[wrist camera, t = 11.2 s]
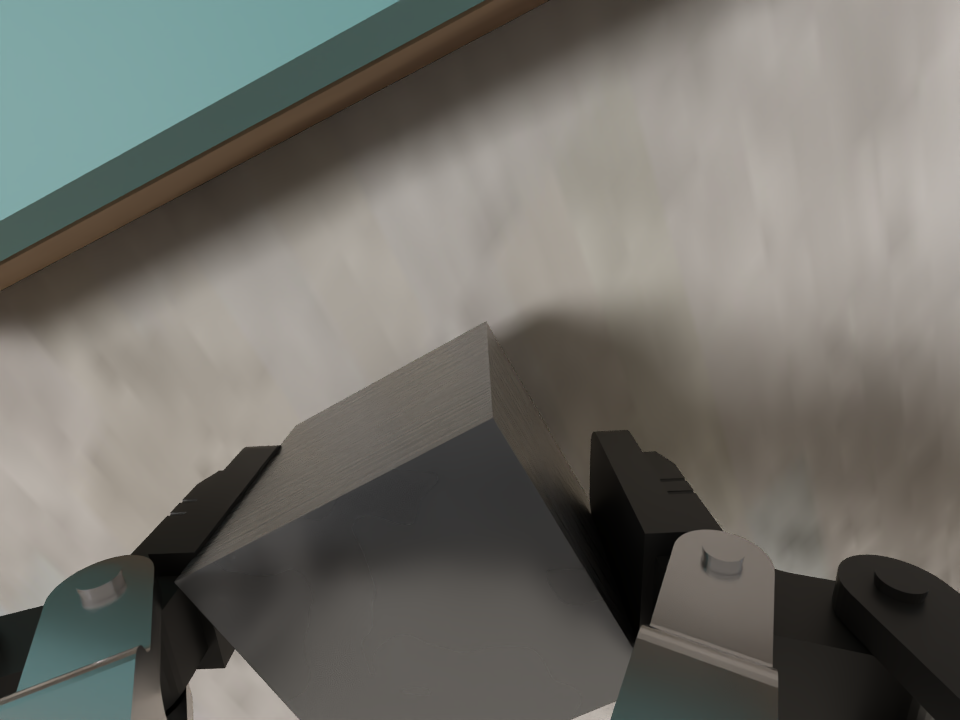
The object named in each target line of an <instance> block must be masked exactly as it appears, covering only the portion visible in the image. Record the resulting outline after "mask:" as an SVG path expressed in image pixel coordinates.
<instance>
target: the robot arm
mask: <svg viewBox="0 0 960 720" xmlns="http://www.w3.org/2000/svg"><path fill="white" fill-rule="evenodd" d="M280 447H281V445H279V446H257V447H245V448H244V449H242V451H241V452H240V453H239V454H238V455H237V456H236V457H235V458H234V459H233V461H232V462H231V463H230V464H229V465H228V466H227V467H226V468H225V469H224V470H223V471H218V472H217V473H215V474H213V475H212V476H210V477H208V478H207V479H205V480H204V481H202V482H200V483H199V484H197V485H196V486H195V487H194V488H193V489H192V490H191V492H190V493H189V494H188V495H187V496H186V497H185V498H184V499H183V503H179V504H178V505H177V506H176V507H175V508H174V509H173V510H172V512H171V515H170V516H167V517H166V518H165V519H164V520H163V521H162V522H161V523H160V524H159V525H158V526H157V527H156V528H155V529H154V531H153V532H152V533H151V534H150V535H149V536H148V537H147V538H146V539H145V540H144V541H143V542H142V543H141V544H140V545H139V546H138V547H137V548H136V550H135V551H134V552H133V553H132V554H131V555H124V556H118V557H114V558H110V559H106V560H103V561H100V562H97V563H95V564H93V565H90V566H88V567H86V568H84V569H82V570H80V571H78V572H77V573H75V574H73V575H72V576H70V577H69V578H67V579H66V580H64V581H63V582H62V583H61V584H59V585H58V586H57V587H56V588H55V589H54V590H53V591H52V592H51V593H50V595H49V596H48V598H47V599H46V601H45V604H44V606H40V607H36V608H32V609H28V610H24V611H20V612H16V613H12V614H8V615H4V616H0V720H193V699H192V693H191V690H190V687H189V681H190V679H191V678H192V676H193V674H194V673H195V671H196V669H214V668H225V667H226V665H227V663H228V661H229V659H230V657H231V655H232V654H233V652H234V650H235V648H234V647H233V646H232V645H231V644H230V643H229V642H228V641H227V640H226V638H225V637H224V636H223V635H222V634H221V633H220V632H219V631H218V630H217V629H216V627H215V626H214V625H213V624H212V623H211V622H210V621H209V620H208V619H207V618H206V616H205V615H204V614H203V613H202V612H201V611H200V610H199V609H198V608H197V607H196V606H195V604H194V603H193V602H192V601H191V600H190V599H189V598H188V597H187V596H186V595H185V593H184V592H183V591H182V590H181V589H180V588H179V587H178V586H177V585H176V584H175V583H174V582H175V580H176V579H177V578H178V577H179V575H180V574H181V573H182V571H183V570H184V569H185V568H186V566H187V565H188V564H189V562H190V561H191V560H192V559H193V558H195V557H196V556H197V555H198V554H199V552H200V551H201V550H202V548H203V547H204V546H205V545H206V543H207V542H208V541H209V539H210V538H211V537H212V535H213V534H214V533H215V532H216V530H217V529H218V528H219V526H220V525H221V524H222V522H223V521H224V520H225V519H226V517H227V516H228V515H229V513H230V512H231V511H232V509H233V508H234V507H235V506H236V504H237V503H238V502H239V500H240V499H241V498H242V496H243V495H244V494H245V493H246V491H247V490H248V489H249V487H250V486H251V485H252V483H253V482H254V481H255V480H256V478H257V477H258V476H259V474H260V473H261V472H262V470H263V469H264V468H265V467H266V465H267V464H268V463H269V461H270V460H271V459H272V457H273V456H274V455H275V454H276V452H277V451H278V450H279V448H280ZM590 509H591V515H592V517H593V520H594V523H595V526H596V529H597V532H598V534H599V537H600V540H601V543H602V546H603V548H604V551H605V554H606V557H607V560H608V563H609V565H610V568H611V571H612V574H613V577H614V580H615V582H616V585H617V588H618V591H619V594H620V596H621V599H622V602H623V605H624V608H625V611H626V613H627V616H628V619H629V622H630V625H631V627H632V630H633V633H634V636H635V639H636V641H635V645H634V648H633V651H632V654H631V657H630V660H629V663H628V666H627V670H626V673H625V676H624V679H623V682H622V685H621V688H620V691H619V695H618V698H617V701H616V704H615V707H614V710H613V713H612V717H611V720H960V594H959V593H958V592H957V591H956V590H954V589H953V588H952V587H950V586H949V585H948V584H946V583H945V582H943V581H942V580H941V579H939V578H938V577H936V576H934V575H933V574H931V573H929V572H927V571H925V570H923V569H921V568H919V567H917V566H914V565H912V564H909V563H906V562H903V561H900V560H897V559H893V558H889V557H884V556H878V555H857V556H852V557H849V558H846V559H845V560H843V561H842V562H841V563H840V565H839V567H838V571H837V576H836V581H832V580H827V579H821V578H815V577H810V576H804V575H798V574H793V573H788V572H783V571H780V570H777V569H774V565H773V563H772V561H771V559H770V558H769V556H768V555H767V554H766V553H765V552H764V551H763V550H762V549H761V548H759V547H758V546H757V545H755V544H754V543H752V542H750V541H748V540H746V539H744V538H742V537H740V536H737V535H735V534H731V533H728V532H724V531H723V530H722V529H721V528H720V526H719V525H718V523H717V522H716V521H715V519H714V518H713V517H712V515H711V514H710V512H709V511H708V510H707V508H706V507H705V506H704V504H703V503H702V501H701V500H700V499H699V497H698V496H697V494H696V493H694V492H693V489H692V488H691V486H690V485H689V483H688V482H687V481H685V478H684V476H683V475H682V474H681V472H680V471H679V470H678V468H677V467H676V465H675V464H674V463H673V462H671V461H669V460H668V459H666V458H665V457H663V456H662V455H660V454H658V453H657V452H642V451H641V449H640V448H639V446H638V444H637V443H636V441H635V440H634V438H633V436H632V435H631V433H630V432H629V431H628V430H619V431H597V432H593V433H592V436H591V455H590Z"/></svg>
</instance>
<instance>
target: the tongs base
mask: <svg viewBox="0 0 960 720" xmlns="http://www.w3.org/2000/svg"><path fill="white" fill-rule="evenodd" d="M547 1H549V0H484V1H483V2H481V3H479V4H477V5H475V6H473V7H471V8H470V9H468V10H466V11H464V12H462V13H460V14H458V15H457V16H455V17H453V18H451V19H449V20H447V21H446V22H444V23H442V24H440V25H438V26H436V27H434V28H433V29H431V30H429V31H427V32H425V33H423V34H421V35H420V36H418V37H416V38H414V39H412V40H410V41H408V42H407V43H405V44H403V45H401V46H399V47H397V48H395V49H394V50H392V51H390V52H388V53H386V54H384V55H382V56H381V57H379V58H377V59H375V60H373V61H371V62H369V63H368V64H366V65H364V66H362V67H360V68H358V69H356V70H355V71H353V72H351V73H349V74H347V75H345V76H343V77H342V78H340V79H338V80H336V81H334V82H332V83H330V84H329V85H327V86H325V87H323V88H321V89H319V90H318V91H316V92H314V93H312V94H310V95H308V96H306V97H305V98H303V99H301V100H299V101H297V102H295V103H293V104H292V105H290V106H288V107H286V108H284V109H282V110H280V111H279V112H277V113H275V114H273V115H271V116H269V117H267V118H266V119H264V120H262V121H260V122H258V123H256V124H254V125H253V126H251V127H249V128H247V129H245V130H243V131H241V132H240V133H238V134H236V135H234V136H232V137H230V138H228V139H227V140H225V141H223V142H221V143H219V144H217V145H215V146H214V147H212V148H210V149H208V150H206V151H204V152H202V153H201V154H199V155H197V156H195V157H193V158H191V159H190V160H188V161H186V162H184V163H182V164H180V165H178V166H177V167H175V168H173V169H171V170H169V171H167V172H165V173H164V174H162V175H160V176H158V177H156V178H154V179H152V180H151V181H149V182H147V183H145V184H143V185H141V186H139V187H138V188H136V189H134V190H132V191H130V192H128V193H126V194H125V195H123V196H121V197H119V198H117V199H115V200H113V201H112V202H110V203H108V204H106V205H104V206H102V207H100V208H99V209H97V210H95V211H93V212H91V213H89V214H87V215H86V216H84V217H82V218H80V219H78V220H76V221H74V222H73V223H71V224H69V225H67V226H65V227H63V228H62V229H60V230H58V231H56V232H54V233H52V234H50V235H49V236H47V237H45V238H43V239H41V240H39V241H37V242H36V243H34V244H32V245H30V246H28V247H26V248H24V249H23V250H21V251H19V252H17V253H15V254H13V255H11V256H10V257H8V258H6V259H4V260H2V261H0V291H1V290H3V289H5V288H7V287H9V286H10V285H12V284H14V283H16V282H18V281H20V280H22V279H24V278H26V277H27V276H29V275H31V274H33V273H35V272H37V271H39V270H41V269H43V268H44V267H46V266H48V265H50V264H52V263H54V262H56V261H58V260H60V259H61V258H63V257H65V256H67V255H69V254H71V253H73V252H75V251H77V250H78V249H80V248H82V247H84V246H86V245H88V244H90V243H92V242H94V241H95V240H97V239H99V238H101V237H103V236H105V235H107V234H109V233H111V232H113V231H114V230H116V229H118V228H120V227H122V226H124V225H126V224H128V223H130V222H131V221H133V220H135V219H137V218H139V217H141V216H143V215H145V214H147V213H148V212H150V211H152V210H154V209H156V208H158V207H160V206H162V205H164V204H165V203H167V202H169V201H171V200H173V199H175V198H177V197H179V196H181V195H182V194H184V193H186V192H188V191H190V190H192V189H194V188H196V187H198V186H199V185H201V184H203V183H205V182H207V181H209V180H211V179H213V178H215V177H216V176H218V175H220V174H222V173H224V172H226V171H228V170H230V169H232V168H233V167H235V166H237V165H239V164H241V163H243V162H245V161H247V160H249V159H250V158H252V157H254V156H256V155H258V154H260V153H262V152H264V151H266V150H268V149H269V148H271V147H273V146H275V145H277V144H279V143H281V142H283V141H285V140H286V139H288V138H290V137H292V136H294V135H296V134H298V133H300V132H302V131H303V130H305V129H307V128H309V127H311V126H313V125H315V124H317V123H319V122H320V121H322V120H324V119H326V118H328V117H330V116H332V115H334V114H336V113H337V112H339V111H341V110H343V109H345V108H347V107H349V106H351V105H353V104H354V103H356V102H358V101H360V100H362V99H364V98H366V97H368V96H370V95H371V94H373V93H375V92H377V91H379V90H381V89H383V88H385V87H387V86H388V85H390V84H392V83H394V82H396V81H398V80H400V79H402V78H404V77H406V76H407V75H409V74H411V73H413V72H415V71H417V70H419V69H421V68H423V67H424V66H426V65H428V64H430V63H432V62H434V61H436V60H438V59H440V58H441V57H443V56H445V55H447V54H449V53H451V52H453V51H455V50H457V49H458V48H460V47H462V46H464V45H466V44H468V43H470V42H472V41H474V40H475V39H477V38H479V37H481V36H483V35H485V34H487V33H489V32H491V31H492V30H494V29H496V28H498V27H500V26H502V25H504V24H506V23H508V22H509V21H511V20H513V19H515V18H517V17H519V16H521V15H523V14H525V13H526V12H528V11H530V10H532V9H534V8H536V7H538V6H540V5H542V4H543V3H545V2H547Z"/></svg>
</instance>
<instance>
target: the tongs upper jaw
mask: <svg viewBox="0 0 960 720" xmlns="http://www.w3.org/2000/svg"><path fill="white" fill-rule="evenodd" d="M483 1H484V0H0V261H2V260H4V259H6V258H8V257H10V256H11V255H13V254H15V253H17V252H19V251H21V250H23V249H24V248H26V247H28V246H30V245H32V244H34V243H36V242H37V241H39V240H41V239H43V238H45V237H47V236H49V235H50V234H52V233H54V232H56V231H58V230H60V229H62V228H63V227H65V226H67V225H69V224H71V223H73V222H74V221H76V220H78V219H80V218H82V217H84V216H86V215H87V214H89V213H91V212H93V211H95V210H97V209H99V208H100V207H102V206H104V205H106V204H108V203H110V202H112V201H113V200H115V199H117V198H119V197H121V196H123V195H125V194H126V193H128V192H130V191H132V190H134V189H136V188H138V187H139V186H141V185H143V184H145V183H147V182H149V181H151V180H152V179H154V178H156V177H158V176H160V175H162V174H164V173H165V172H167V171H169V170H171V169H173V168H175V167H177V166H178V165H180V164H182V163H184V162H186V161H188V160H190V159H191V158H193V157H195V156H197V155H199V154H201V153H202V152H204V151H206V150H208V149H210V148H212V147H214V146H215V145H217V144H219V143H221V142H223V141H225V140H227V139H228V138H230V137H232V136H234V135H236V134H238V133H240V132H241V131H243V130H245V129H247V128H249V127H251V126H253V125H254V124H256V123H258V122H260V121H262V120H264V119H266V118H267V117H269V116H271V115H273V114H275V113H277V112H279V111H280V110H282V109H284V108H286V107H288V106H290V105H292V104H293V103H295V102H297V101H299V100H301V99H303V98H305V97H306V96H308V95H310V94H312V93H314V92H316V91H318V90H319V89H321V88H323V87H325V86H327V85H329V84H330V83H332V82H334V81H336V80H338V79H340V78H342V77H343V76H345V75H347V74H349V73H351V72H353V71H355V70H356V69H358V68H360V67H362V66H364V65H366V64H368V63H369V62H371V61H373V60H375V59H377V58H379V57H381V56H382V55H384V54H386V53H388V52H390V51H392V50H394V49H395V48H397V47H399V46H401V45H403V44H405V43H407V42H408V41H410V40H412V39H414V38H416V37H418V36H420V35H421V34H423V33H425V32H427V31H429V30H431V29H433V28H434V27H436V26H438V25H440V24H442V23H444V22H446V21H447V20H449V19H451V18H453V17H455V16H457V15H458V14H460V13H462V12H464V11H466V10H468V9H470V8H471V7H473V6H475V5H477V4H479V3H481V2H483Z"/></svg>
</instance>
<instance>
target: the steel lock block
mask: <svg viewBox="0 0 960 720" xmlns="http://www.w3.org/2000/svg"><path fill="white" fill-rule="evenodd" d="M174 583H175V584H176V585H177V586H178V587H179V588H180V589H181V590H182V591H183V592H184V593H185V595H186V596H187V597H188V598H189V599H190V600H191V601H192V602H193V603H194V604H195V606H196V607H197V608H198V609H199V610H200V611H201V612H202V613H203V614H204V615H205V616H206V618H207V619H208V620H209V621H210V622H211V623H212V624H213V625H214V626H215V627H216V629H217V630H218V631H219V632H220V633H221V634H222V635H223V636H224V637H225V638H226V640H227V641H228V642H229V643H230V644H231V645H232V646H233V647H234V648H235V649H236V650H237V652H238V653H239V654H240V655H241V656H242V657H243V658H244V659H245V660H246V661H247V663H248V664H249V665H250V666H251V667H252V668H253V669H254V670H255V671H256V672H257V673H258V675H259V676H260V677H261V678H262V679H263V680H264V681H265V682H266V683H267V684H268V686H269V687H270V688H271V689H272V690H273V691H274V692H275V693H276V694H277V695H278V697H279V698H280V699H281V700H282V701H283V702H284V703H285V704H286V705H287V706H288V707H289V709H290V710H291V711H292V712H293V713H294V714H295V715H296V716H297V717H298V718H299V720H571V719H573V718H576V717H578V716H581V715H583V714H586V713H588V712H591V711H593V710H595V709H598V708H600V707H603V706H605V705H608V704H610V703H613V702H615V701H617V698H618V695H619V691H620V688H621V685H622V682H623V679H624V676H625V673H626V670H627V666H628V663H629V660H630V657H631V654H632V651H633V648H634V645H635V641H636V639H635V636H634V633H633V630H632V627H631V625H630V622H629V619H628V616H627V613H626V611H625V608H624V605H623V602H622V599H621V596H620V594H619V591H618V588H617V585H616V582H615V580H614V577H613V574H612V571H611V568H610V565H609V563H608V560H607V557H606V554H605V551H604V548H603V546H602V543H601V540H600V537H599V534H598V532H597V529H596V526H595V523H594V520H593V517H592V515H591V509H590V503H589V500H588V498H587V496H586V494H585V492H584V491H583V489H582V487H581V485H580V484H579V482H578V480H577V478H576V477H575V475H574V473H573V471H572V470H571V468H570V466H569V464H568V463H567V461H566V459H565V457H564V456H563V454H562V452H561V451H560V449H559V447H558V445H557V444H556V442H555V440H554V438H553V437H552V435H551V433H550V431H549V430H548V428H547V426H546V424H545V423H544V421H543V419H542V417H541V416H540V414H539V412H538V411H537V409H536V407H535V405H534V404H533V402H532V400H531V398H530V397H529V395H528V393H527V391H526V390H525V388H524V386H523V384H522V383H521V381H520V379H519V377H518V376H517V374H516V372H515V370H514V369H513V367H512V365H511V364H510V362H509V360H508V358H507V357H506V355H505V353H504V351H503V350H502V348H501V346H500V344H499V343H498V341H497V339H496V337H495V336H494V334H493V332H492V330H491V329H490V327H489V325H488V324H487V322H484V323H482V324H480V325H479V326H477V327H475V328H473V329H471V330H469V331H468V332H466V333H464V334H462V335H460V336H459V337H457V338H455V339H453V340H451V341H449V342H448V343H446V344H444V345H442V346H440V347H439V348H437V349H435V350H433V351H431V352H429V353H428V354H426V355H424V356H422V357H420V358H418V359H417V360H415V361H413V362H411V363H409V364H408V365H406V366H404V367H402V368H400V369H398V370H397V371H395V372H393V373H391V374H389V375H387V376H386V377H384V378H382V379H380V380H378V381H377V382H375V383H373V384H371V385H369V386H367V387H366V388H364V389H362V390H360V391H358V392H357V393H355V394H353V395H351V396H349V397H347V398H346V399H344V400H342V401H340V402H338V403H336V404H335V405H333V406H331V407H329V408H327V409H326V410H324V411H322V412H320V413H318V414H316V415H315V416H313V417H311V418H309V419H307V420H306V421H304V422H302V423H300V424H298V425H296V426H295V427H294V429H293V430H292V431H291V432H290V434H289V435H288V436H287V438H286V439H285V440H284V441H283V443H282V444H281V447H280V448H279V450H278V451H277V452H276V454H275V455H274V456H273V457H272V459H271V460H270V461H269V463H268V464H267V465H266V467H265V468H264V469H263V470H262V472H261V473H260V474H259V476H258V477H257V478H256V480H255V481H254V482H253V483H252V485H251V486H250V487H249V489H248V490H247V491H246V493H245V494H244V495H243V496H242V498H241V499H240V500H239V502H238V503H237V504H236V506H235V507H234V508H233V509H232V511H231V512H230V513H229V515H228V516H227V517H226V519H225V520H224V521H223V522H222V524H221V525H220V526H219V528H218V529H217V530H216V532H215V533H214V534H213V535H212V537H211V538H210V539H209V541H208V542H207V543H206V545H205V546H204V547H203V548H202V550H201V551H200V552H199V554H198V555H197V556H196V557H195V558H193V559H192V560H191V561H190V562H189V564H188V565H187V566H186V568H185V569H184V570H183V571H182V573H181V574H180V575H179V577H178V578H177V579H176V580H175V582H174Z"/></svg>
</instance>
